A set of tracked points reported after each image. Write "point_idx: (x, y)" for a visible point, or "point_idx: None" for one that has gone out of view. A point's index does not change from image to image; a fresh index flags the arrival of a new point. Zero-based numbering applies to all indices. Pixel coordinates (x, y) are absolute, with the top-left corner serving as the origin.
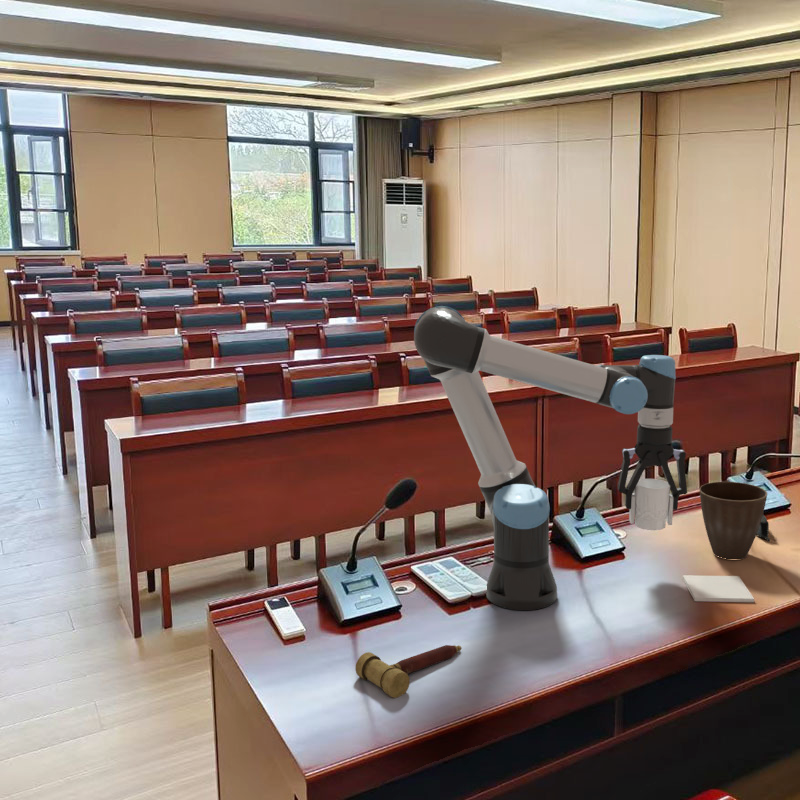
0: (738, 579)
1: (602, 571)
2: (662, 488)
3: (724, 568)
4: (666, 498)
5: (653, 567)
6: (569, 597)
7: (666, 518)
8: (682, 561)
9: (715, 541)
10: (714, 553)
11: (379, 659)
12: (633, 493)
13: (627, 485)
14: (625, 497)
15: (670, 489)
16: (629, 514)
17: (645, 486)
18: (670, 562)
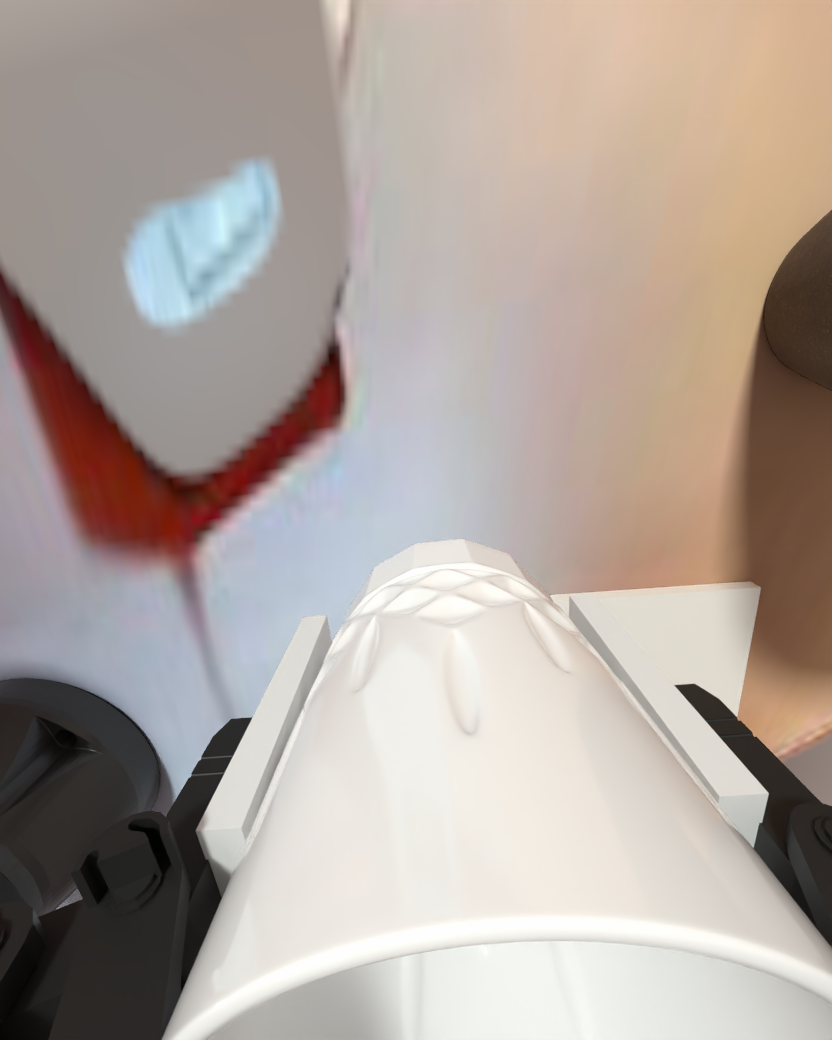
0: (746, 615)
1: (266, 562)
2: None
3: (742, 478)
4: (639, 968)
5: (458, 501)
6: (193, 755)
7: (577, 605)
8: (589, 419)
9: (822, 366)
10: (768, 322)
11: None
12: (240, 845)
13: (62, 1002)
14: (170, 821)
15: (814, 919)
16: (290, 650)
17: (408, 770)
18: (535, 437)
